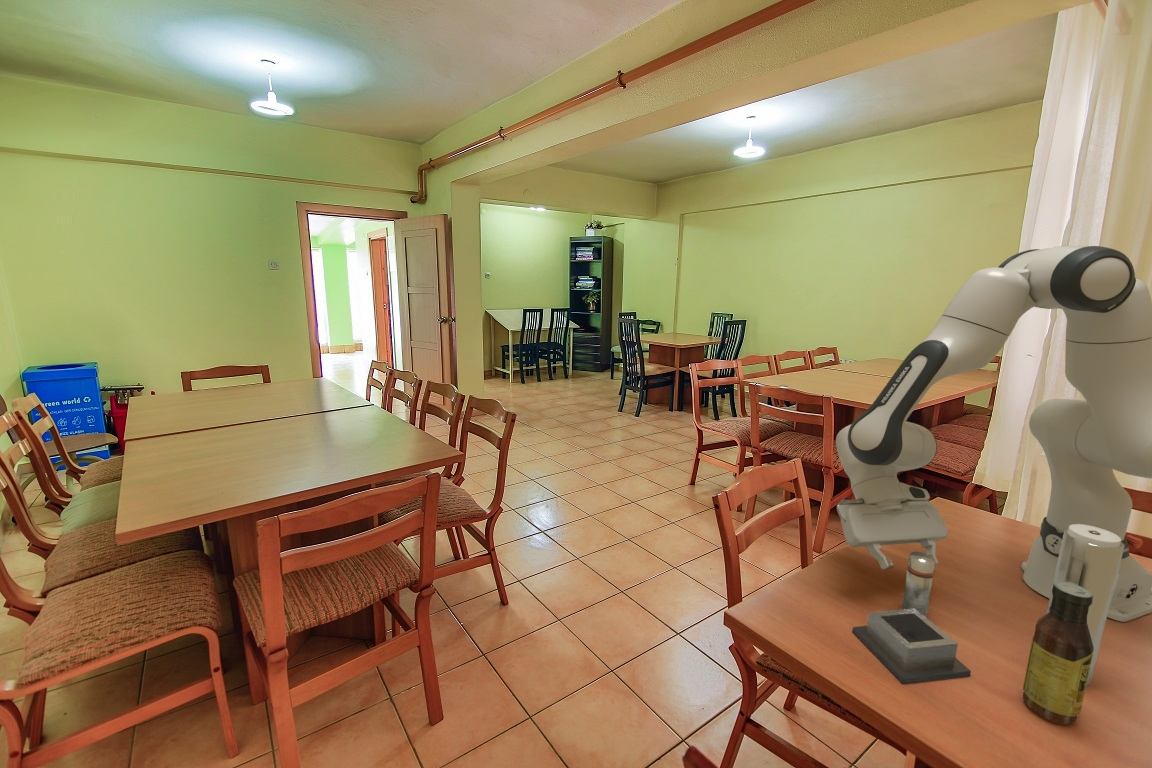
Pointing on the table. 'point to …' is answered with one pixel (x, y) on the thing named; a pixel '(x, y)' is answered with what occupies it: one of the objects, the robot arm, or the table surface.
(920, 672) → the collar
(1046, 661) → the sauce bottle
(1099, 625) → the silver piece
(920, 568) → the cylinder
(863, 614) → the table surface
